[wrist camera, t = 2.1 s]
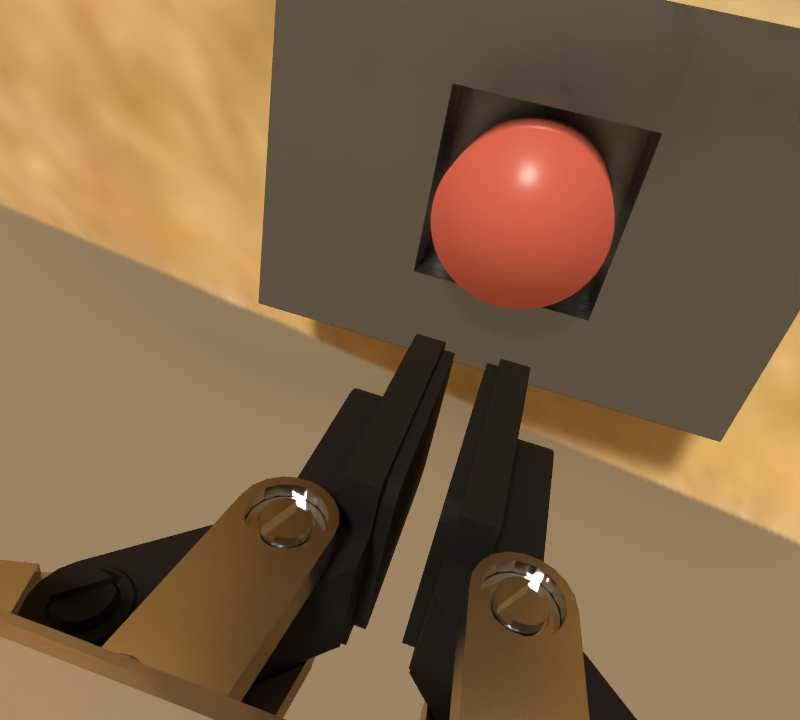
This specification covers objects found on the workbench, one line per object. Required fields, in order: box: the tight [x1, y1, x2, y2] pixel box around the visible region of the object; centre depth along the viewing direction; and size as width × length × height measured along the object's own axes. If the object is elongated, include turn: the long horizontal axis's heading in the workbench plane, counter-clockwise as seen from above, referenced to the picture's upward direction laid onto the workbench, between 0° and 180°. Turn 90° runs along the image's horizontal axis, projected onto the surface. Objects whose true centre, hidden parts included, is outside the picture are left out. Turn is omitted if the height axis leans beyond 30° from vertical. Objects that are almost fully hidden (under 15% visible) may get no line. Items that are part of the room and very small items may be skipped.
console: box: [259, 0, 800, 442], centre depth 25 cm, size 20×14×6 cm
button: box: [431, 116, 615, 309], centre depth 22 cm, size 6×6×3 cm
